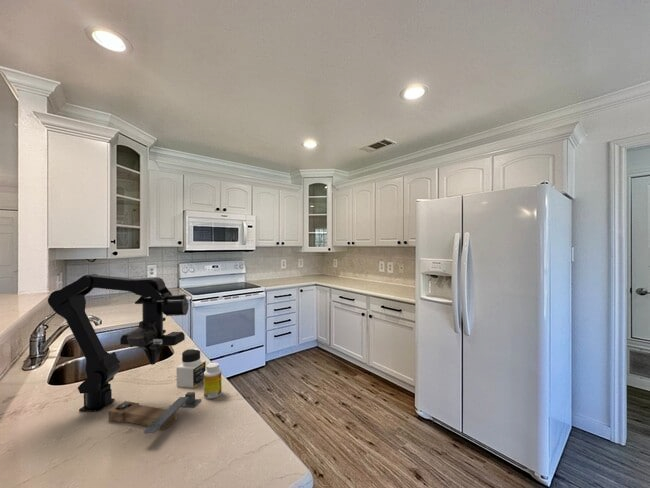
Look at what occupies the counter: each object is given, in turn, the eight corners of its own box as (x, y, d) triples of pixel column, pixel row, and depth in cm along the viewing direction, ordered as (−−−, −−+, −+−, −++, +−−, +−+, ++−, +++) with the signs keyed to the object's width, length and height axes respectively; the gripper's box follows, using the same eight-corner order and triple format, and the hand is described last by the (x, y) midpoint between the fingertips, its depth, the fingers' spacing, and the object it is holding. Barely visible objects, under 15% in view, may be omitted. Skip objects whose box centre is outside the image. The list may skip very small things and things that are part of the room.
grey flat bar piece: (139, 446, 71) (139, 430, 71) (186, 400, 92) (186, 388, 92) (158, 446, 70) (158, 431, 70) (201, 400, 91) (200, 388, 91)
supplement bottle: (221, 397, 93) (221, 366, 93) (203, 400, 91) (203, 369, 91) (221, 389, 98) (221, 360, 98) (204, 392, 96) (204, 362, 96)
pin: (116, 419, 82) (116, 407, 82) (123, 413, 84) (123, 402, 84) (124, 419, 82) (124, 407, 82) (131, 414, 84) (131, 402, 84)
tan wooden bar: (108, 419, 81) (108, 410, 81) (125, 409, 86) (125, 400, 86) (162, 430, 76) (162, 421, 76) (177, 419, 81) (177, 410, 81)
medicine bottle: (193, 388, 99) (193, 354, 99) (176, 386, 101) (175, 353, 101) (206, 378, 106) (205, 347, 106) (189, 377, 108) (189, 346, 108)
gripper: (104, 323, 84) (105, 374, 84) (163, 323, 83) (163, 376, 83) (133, 313, 95) (133, 359, 95) (185, 314, 94) (185, 361, 94)
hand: (153, 364), depth 91 cm, fingers closed
